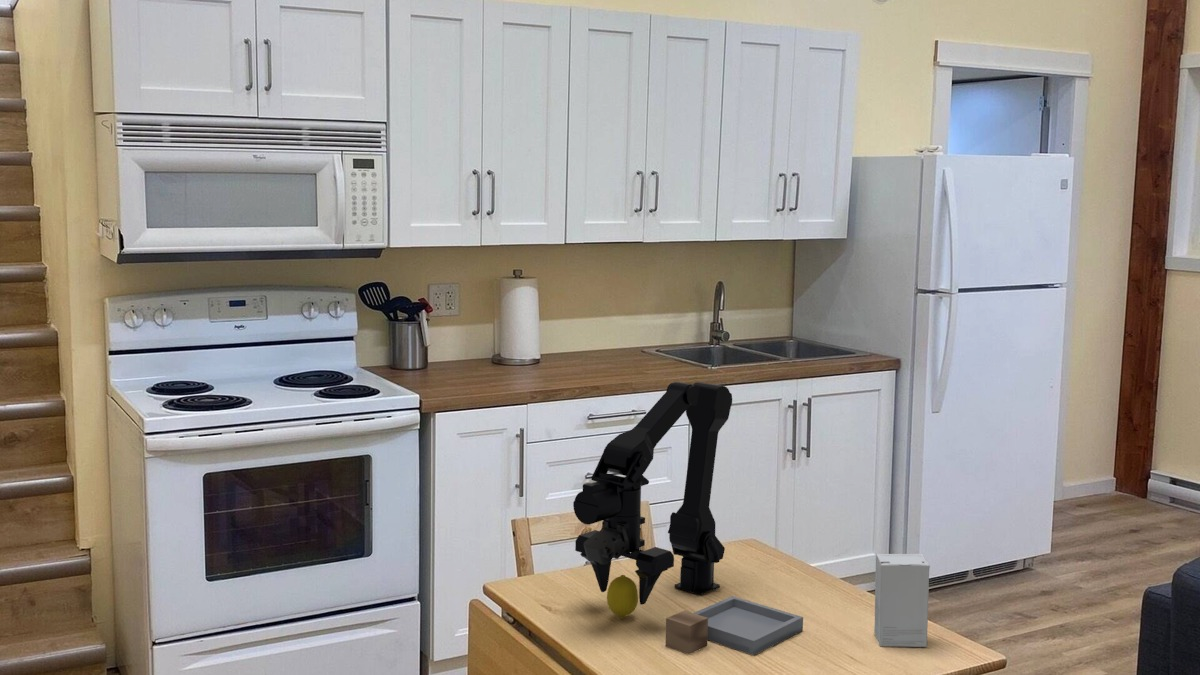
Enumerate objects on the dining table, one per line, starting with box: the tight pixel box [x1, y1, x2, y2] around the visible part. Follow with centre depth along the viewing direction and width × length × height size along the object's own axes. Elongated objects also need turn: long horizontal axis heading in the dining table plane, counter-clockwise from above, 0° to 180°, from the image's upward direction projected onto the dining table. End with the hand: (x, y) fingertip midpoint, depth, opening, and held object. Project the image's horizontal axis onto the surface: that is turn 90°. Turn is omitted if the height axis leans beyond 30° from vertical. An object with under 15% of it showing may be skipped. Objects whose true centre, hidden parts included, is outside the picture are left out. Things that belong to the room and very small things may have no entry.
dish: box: [693, 595, 804, 656], centre depth 206 cm, size 15×15×2 cm
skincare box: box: [873, 553, 931, 648], centre depth 202 cm, size 8×6×15 cm
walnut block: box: [665, 610, 708, 655], centre depth 199 cm, size 5×5×5 cm
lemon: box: [606, 574, 639, 619], centre depth 211 cm, size 6×6×8 cm
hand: (622, 597), depth 211 cm, fingers open, 9 cm apart
